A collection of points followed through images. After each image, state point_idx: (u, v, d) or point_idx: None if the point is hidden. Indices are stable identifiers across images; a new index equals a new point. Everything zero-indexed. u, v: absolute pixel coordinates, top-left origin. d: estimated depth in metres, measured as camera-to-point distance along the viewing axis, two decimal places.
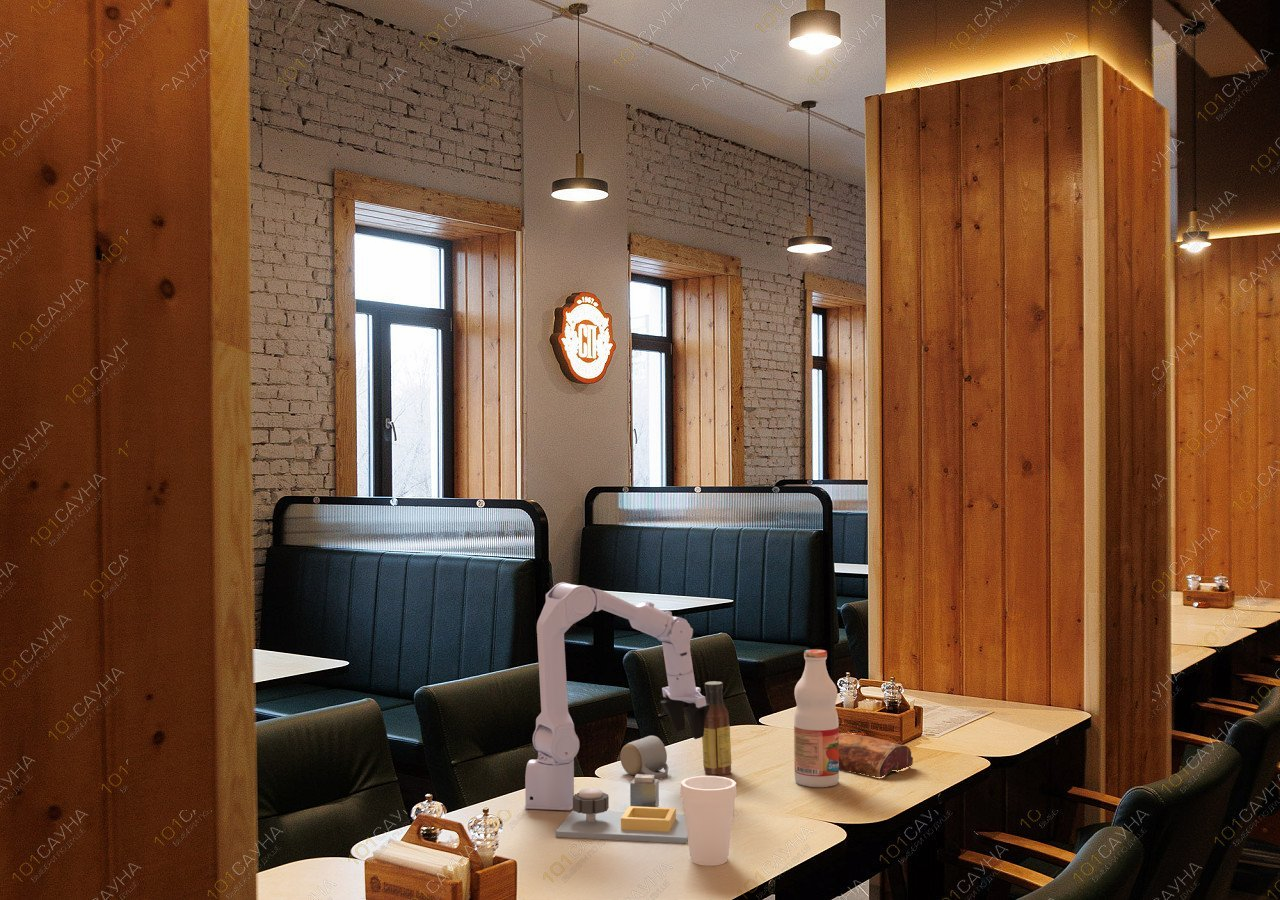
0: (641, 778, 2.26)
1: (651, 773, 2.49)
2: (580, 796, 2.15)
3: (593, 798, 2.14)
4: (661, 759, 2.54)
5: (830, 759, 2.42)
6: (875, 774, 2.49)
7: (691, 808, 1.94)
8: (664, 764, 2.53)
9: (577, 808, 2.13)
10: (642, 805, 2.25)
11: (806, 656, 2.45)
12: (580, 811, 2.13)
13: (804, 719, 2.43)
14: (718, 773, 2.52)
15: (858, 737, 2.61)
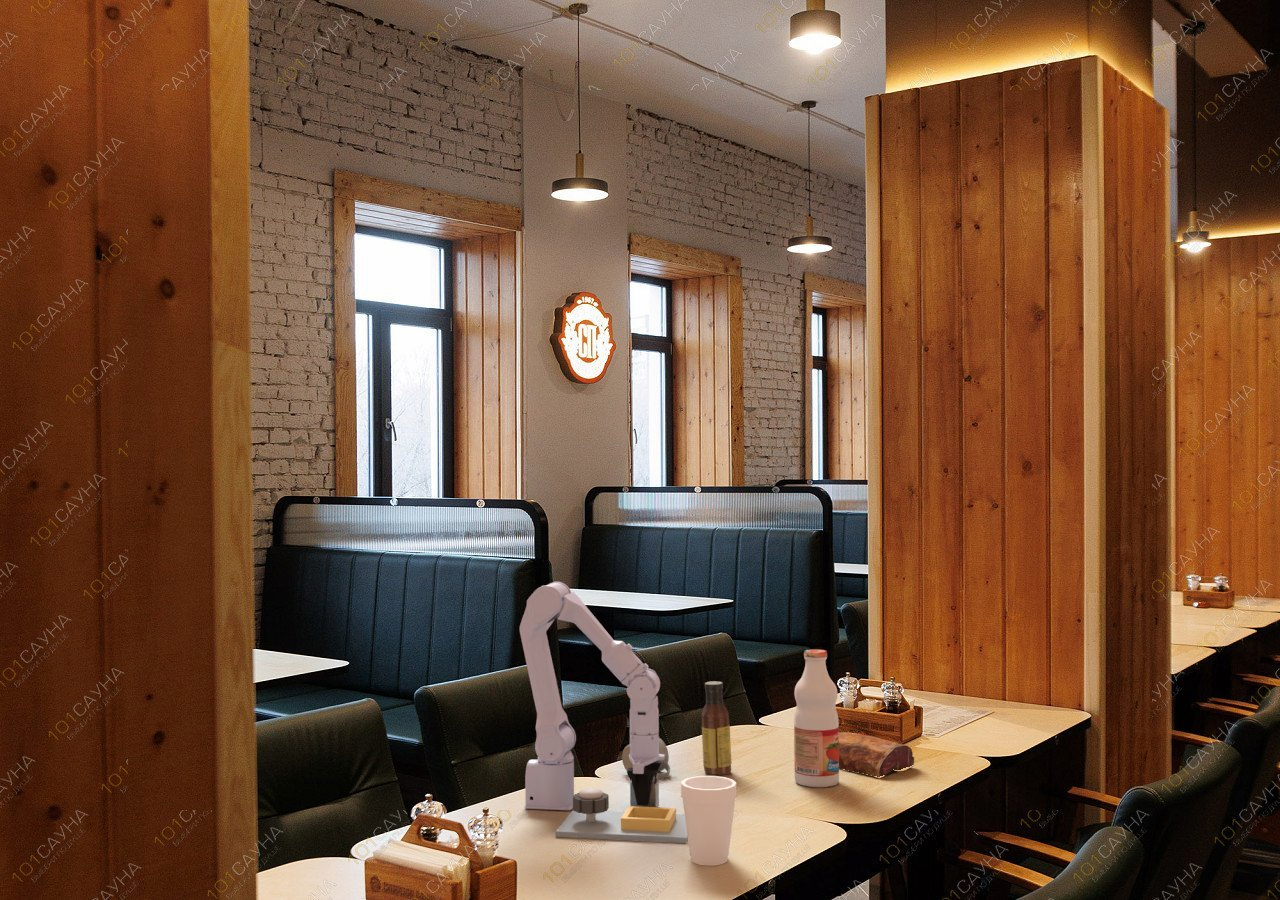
0: None
1: None
2: (580, 796, 2.15)
3: (593, 798, 2.14)
4: (663, 760, 2.53)
5: (830, 759, 2.42)
6: (875, 773, 2.49)
7: (691, 808, 1.94)
8: (666, 765, 2.53)
9: (577, 808, 2.13)
10: (642, 805, 2.25)
11: (806, 656, 2.45)
12: (580, 811, 2.13)
13: (804, 719, 2.43)
14: (718, 773, 2.52)
15: (860, 736, 2.61)
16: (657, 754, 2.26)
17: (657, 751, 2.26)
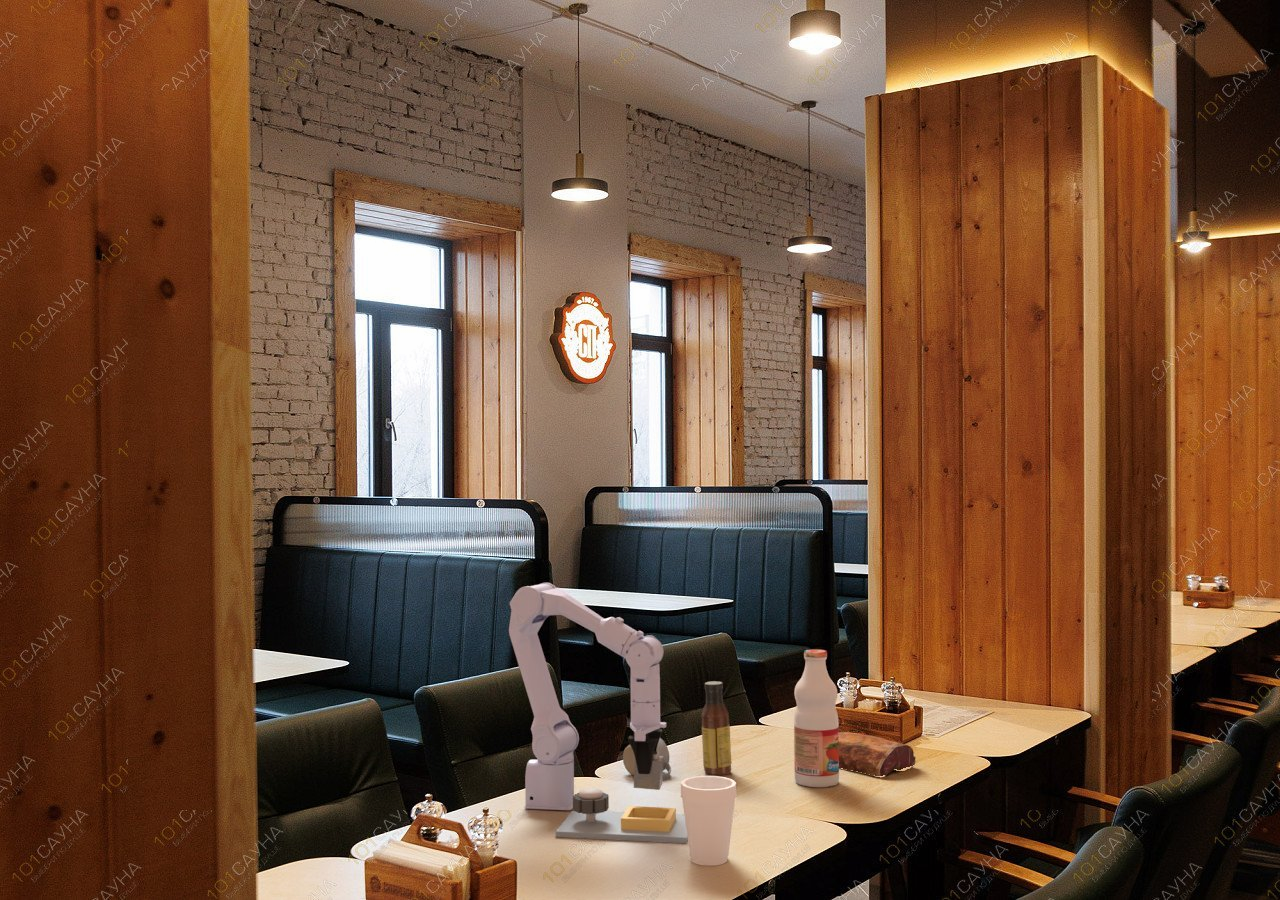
0: None
1: None
2: (580, 796, 2.15)
3: (593, 798, 2.14)
4: (664, 760, 2.53)
5: (830, 759, 2.42)
6: (876, 773, 2.50)
7: (691, 808, 1.94)
8: (667, 765, 2.53)
9: (577, 808, 2.13)
10: (646, 781, 2.21)
11: (806, 656, 2.45)
12: (580, 811, 2.13)
13: (804, 719, 2.43)
14: (718, 773, 2.52)
15: (861, 736, 2.61)
16: (658, 722, 2.22)
17: (658, 719, 2.22)
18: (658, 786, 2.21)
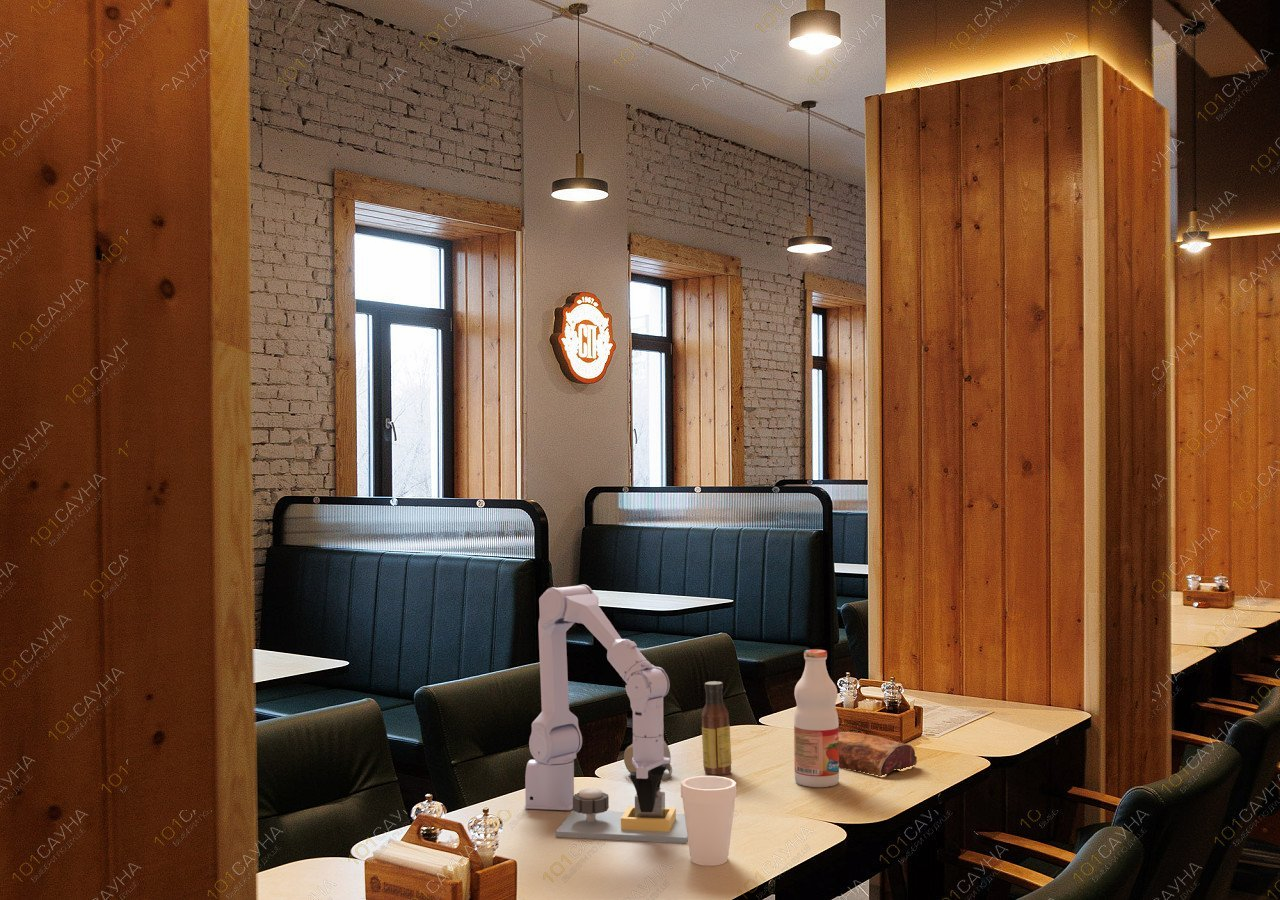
0: None
1: None
2: (580, 796, 2.15)
3: (593, 798, 2.14)
4: None
5: (830, 759, 2.42)
6: (877, 772, 2.50)
7: (691, 808, 1.94)
8: (668, 765, 2.52)
9: (577, 808, 2.13)
10: None
11: (806, 656, 2.45)
12: (580, 811, 2.13)
13: (804, 719, 2.43)
14: (718, 773, 2.52)
15: (862, 736, 2.62)
16: (662, 757, 2.13)
17: (662, 754, 2.13)
18: None
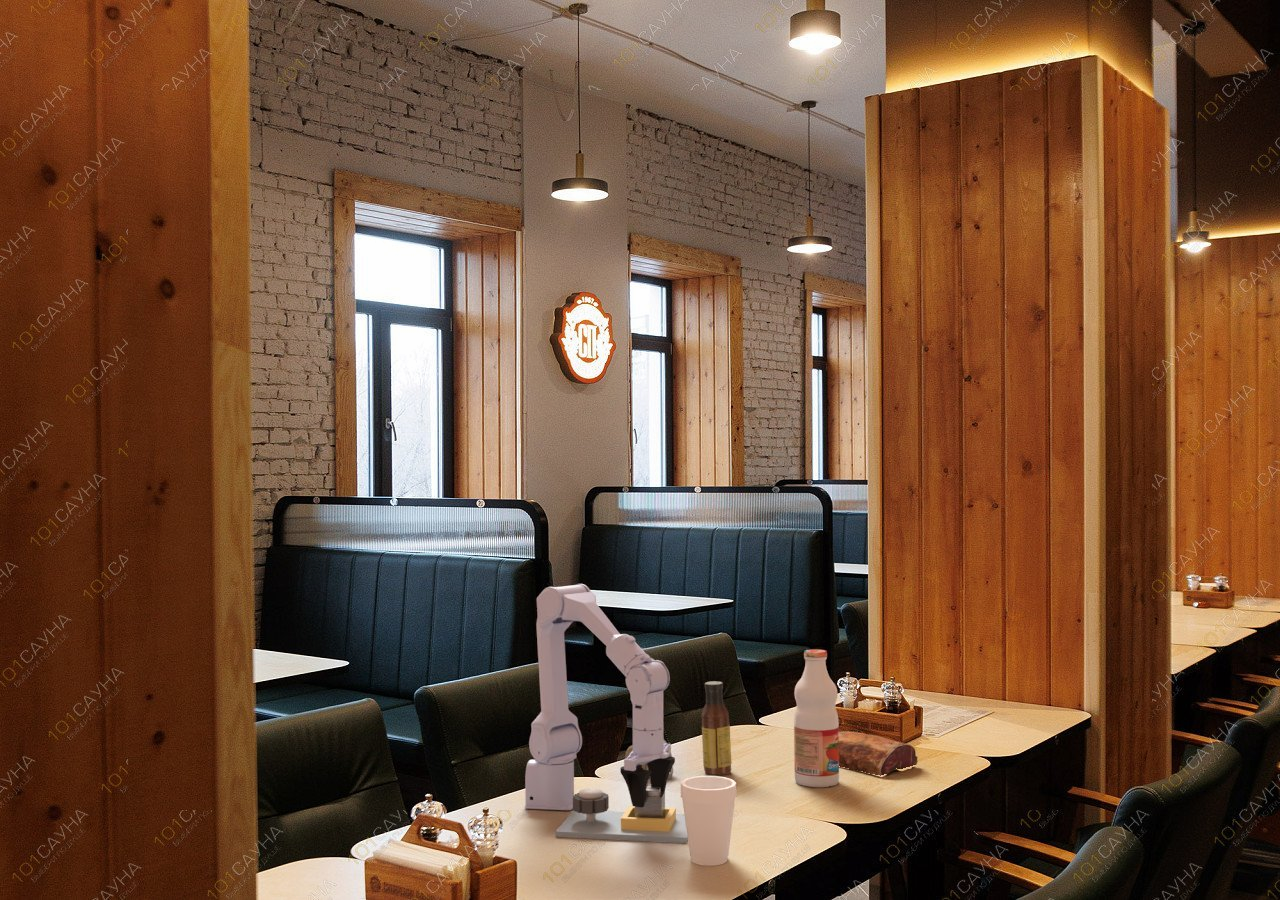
0: (646, 791, 2.13)
1: None
2: (580, 796, 2.15)
3: (593, 798, 2.14)
4: None
5: (830, 759, 2.42)
6: (876, 772, 2.50)
7: (691, 808, 1.94)
8: None
9: (577, 808, 2.13)
10: None
11: (806, 656, 2.45)
12: (580, 811, 2.13)
13: (804, 719, 2.43)
14: (718, 773, 2.52)
15: (863, 735, 2.62)
16: (659, 752, 2.12)
17: (659, 749, 2.12)
18: None
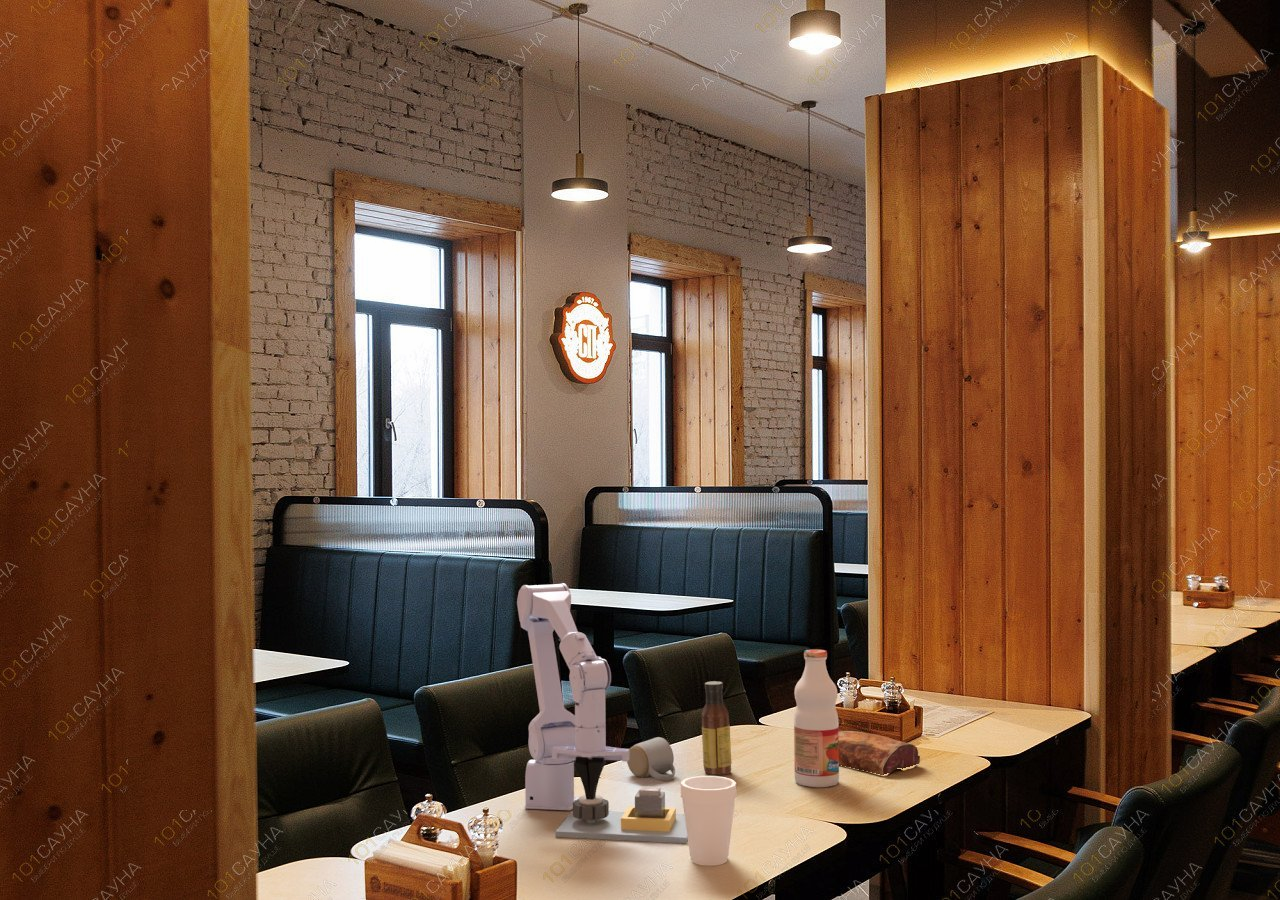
0: (646, 791, 2.13)
1: (658, 775, 2.47)
2: (580, 802, 2.14)
3: (593, 805, 2.13)
4: (668, 761, 2.52)
5: (830, 759, 2.42)
6: (879, 772, 2.51)
7: (691, 808, 1.94)
8: (671, 766, 2.52)
9: (577, 815, 2.13)
10: None
11: (806, 656, 2.45)
12: (580, 817, 2.13)
13: (804, 719, 2.43)
14: (718, 773, 2.52)
15: (866, 735, 2.63)
16: (583, 750, 2.13)
17: (583, 747, 2.13)
18: None
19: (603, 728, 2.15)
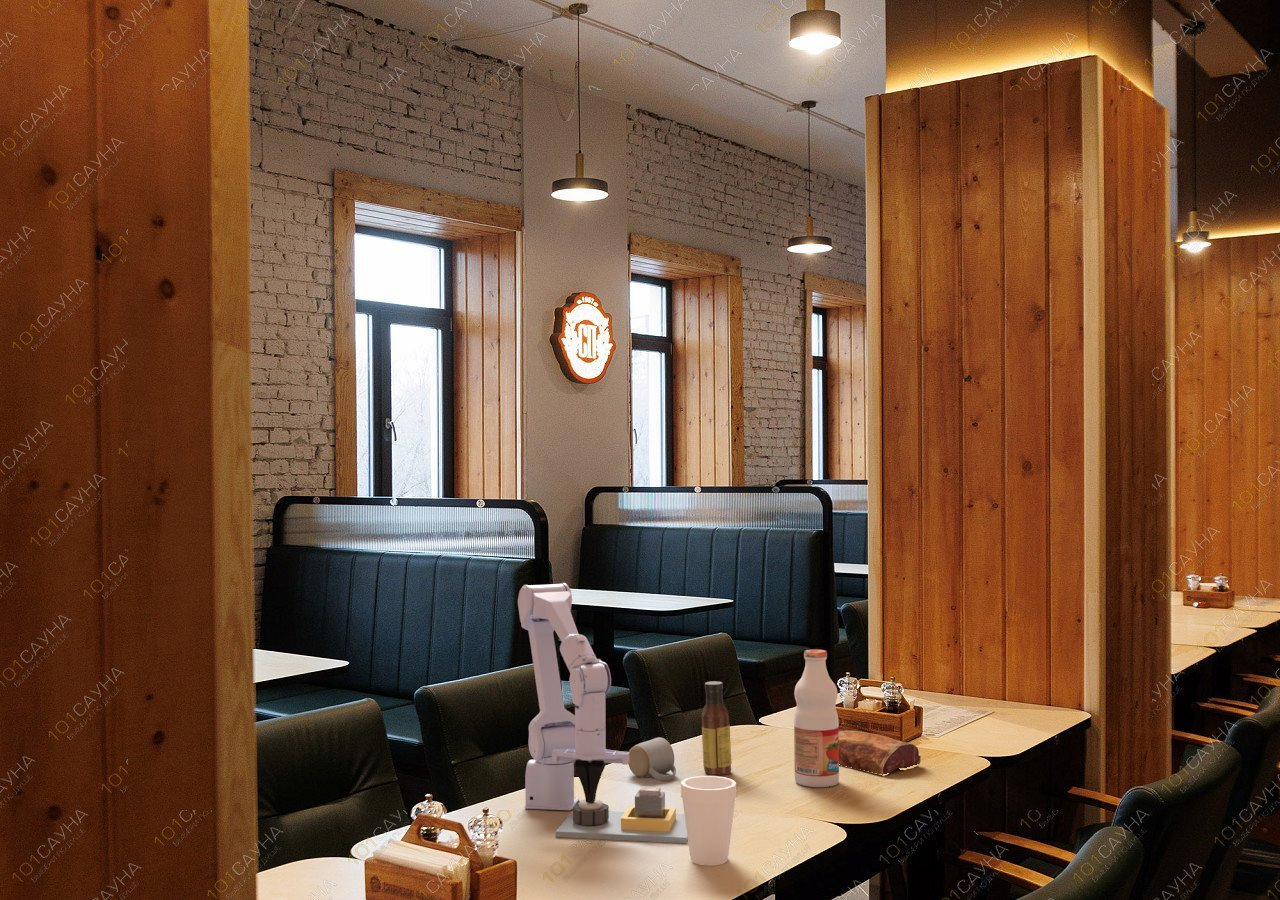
0: (646, 791, 2.13)
1: (659, 775, 2.47)
2: (580, 807, 2.14)
3: (593, 809, 2.13)
4: (669, 761, 2.52)
5: (830, 759, 2.42)
6: (879, 771, 2.51)
7: (691, 808, 1.94)
8: (672, 766, 2.52)
9: (577, 819, 2.13)
10: None
11: (806, 656, 2.45)
12: (580, 822, 2.13)
13: (804, 719, 2.43)
14: (718, 773, 2.52)
15: (866, 735, 2.63)
16: (583, 753, 2.13)
17: (583, 750, 2.13)
18: None
19: (603, 731, 2.15)
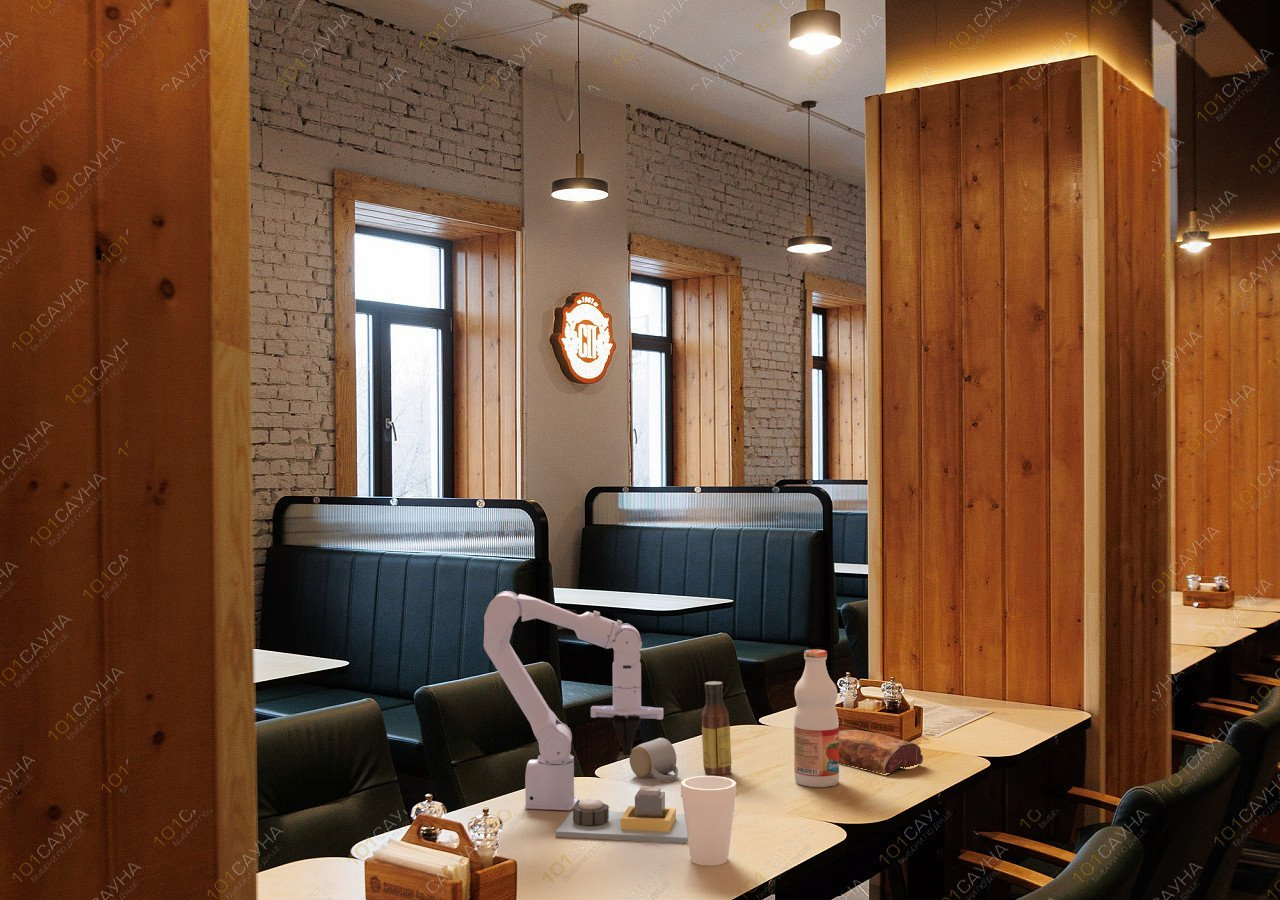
0: (646, 791, 2.13)
1: (661, 776, 2.47)
2: (580, 807, 2.14)
3: (593, 809, 2.13)
4: (671, 762, 2.51)
5: (830, 759, 2.42)
6: (880, 770, 2.52)
7: (691, 808, 1.94)
8: (674, 767, 2.51)
9: (577, 819, 2.13)
10: None
11: (806, 656, 2.45)
12: (580, 822, 2.13)
13: (804, 719, 2.43)
14: (718, 773, 2.52)
15: (869, 734, 2.63)
16: (621, 709, 2.28)
17: (621, 706, 2.28)
18: None
19: (639, 688, 2.30)
